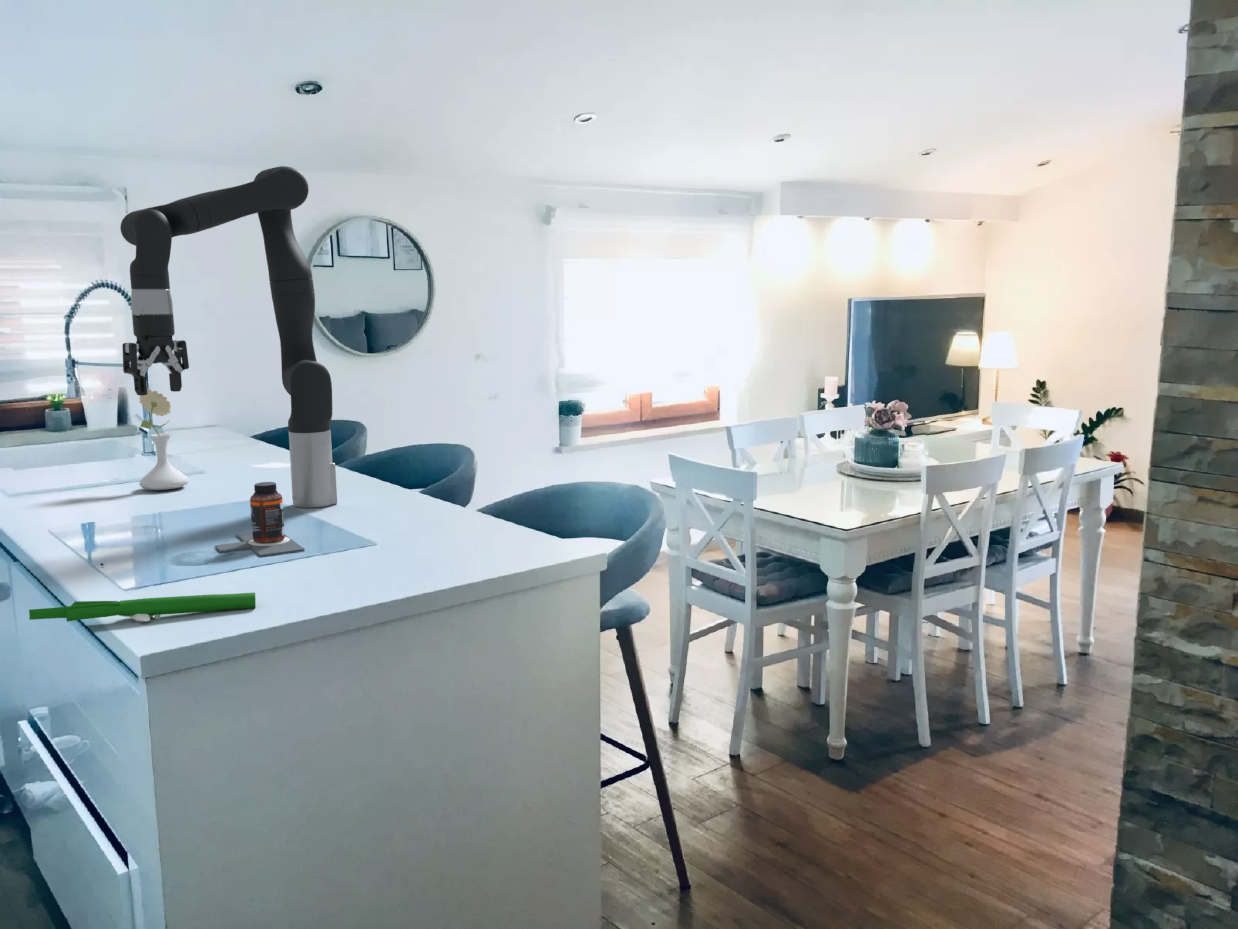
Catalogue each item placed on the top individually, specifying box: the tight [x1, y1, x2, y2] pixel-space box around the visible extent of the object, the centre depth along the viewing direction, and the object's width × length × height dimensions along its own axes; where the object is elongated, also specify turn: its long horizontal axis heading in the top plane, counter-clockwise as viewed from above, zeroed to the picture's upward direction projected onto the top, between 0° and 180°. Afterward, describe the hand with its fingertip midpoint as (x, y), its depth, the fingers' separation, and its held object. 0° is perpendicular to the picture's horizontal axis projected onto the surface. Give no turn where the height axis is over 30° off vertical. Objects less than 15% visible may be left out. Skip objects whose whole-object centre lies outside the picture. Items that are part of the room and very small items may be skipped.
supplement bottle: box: [249, 481, 286, 543], centre depth 191 cm, size 6×6×11 cm
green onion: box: [28, 592, 257, 623], centre depth 145 cm, size 5×3×30 cm
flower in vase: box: [138, 389, 190, 491], centre depth 247 cm, size 13×11×25 cm
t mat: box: [214, 531, 306, 558], centre depth 190 cm, size 14×20×1 cm
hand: (159, 393), depth 200 cm, fingers open, 8 cm apart
